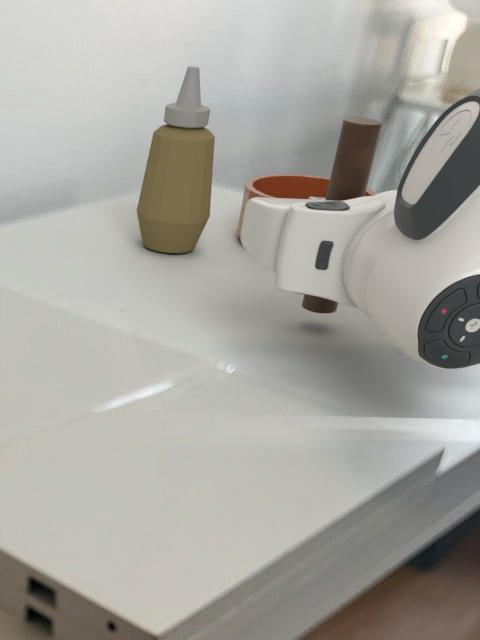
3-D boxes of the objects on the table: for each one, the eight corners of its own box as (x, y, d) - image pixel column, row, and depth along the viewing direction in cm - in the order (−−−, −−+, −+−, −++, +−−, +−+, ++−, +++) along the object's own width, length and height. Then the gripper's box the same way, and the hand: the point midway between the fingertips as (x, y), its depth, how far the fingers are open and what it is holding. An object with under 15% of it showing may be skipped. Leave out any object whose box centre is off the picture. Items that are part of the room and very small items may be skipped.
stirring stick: (330, 302, 98) (375, 117, 89) (340, 314, 96) (387, 125, 86) (297, 301, 98) (338, 116, 88) (307, 313, 96) (350, 123, 86)
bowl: (341, 228, 126) (354, 176, 123) (381, 266, 114) (396, 209, 111) (224, 224, 125) (233, 171, 122) (252, 261, 114) (263, 204, 110)
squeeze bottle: (133, 234, 120) (154, 58, 109) (203, 240, 119) (231, 64, 109) (131, 254, 114) (153, 70, 103) (204, 261, 113) (234, 76, 102)
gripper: (533, 216, 80) (462, 174, 91) (275, 206, 79) (234, 164, 90) (505, 297, 84) (440, 247, 95) (258, 289, 83) (222, 239, 94)
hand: (338, 207), depth 92 cm, fingers closed on stirring stick, 3 cm apart
